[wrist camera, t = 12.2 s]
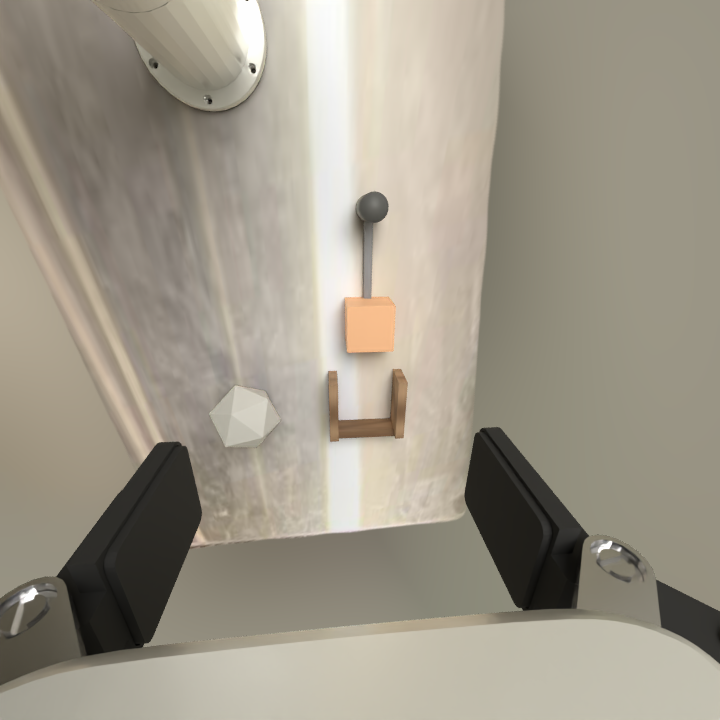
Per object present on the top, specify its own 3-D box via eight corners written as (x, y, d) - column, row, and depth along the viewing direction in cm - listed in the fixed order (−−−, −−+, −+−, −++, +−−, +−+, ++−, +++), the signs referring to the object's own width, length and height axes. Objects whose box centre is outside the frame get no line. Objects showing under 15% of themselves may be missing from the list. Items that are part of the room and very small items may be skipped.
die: (232, 429, 53) (261, 469, 47) (189, 409, 46) (216, 453, 40) (268, 389, 54) (301, 424, 48) (230, 364, 47) (263, 400, 41)
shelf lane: (328, 371, 49) (328, 385, 45) (400, 369, 50) (407, 382, 46) (330, 427, 53) (330, 444, 49) (397, 424, 54) (403, 441, 50)
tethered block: (343, 194, 40) (346, 191, 35) (392, 195, 41) (402, 191, 36) (345, 339, 48) (347, 355, 42) (387, 338, 48) (394, 354, 43)
